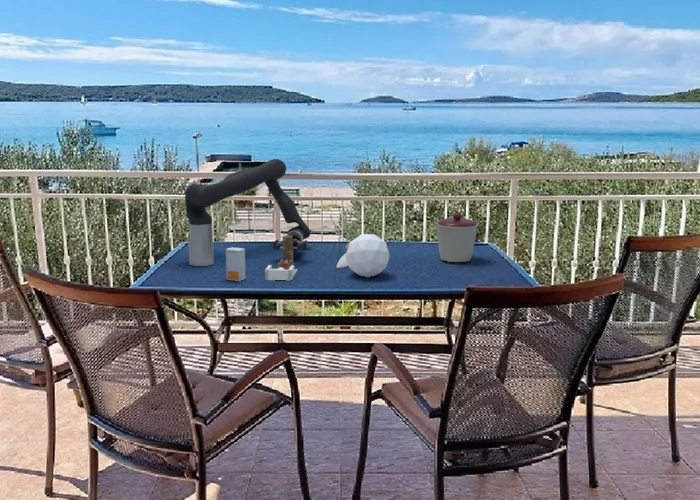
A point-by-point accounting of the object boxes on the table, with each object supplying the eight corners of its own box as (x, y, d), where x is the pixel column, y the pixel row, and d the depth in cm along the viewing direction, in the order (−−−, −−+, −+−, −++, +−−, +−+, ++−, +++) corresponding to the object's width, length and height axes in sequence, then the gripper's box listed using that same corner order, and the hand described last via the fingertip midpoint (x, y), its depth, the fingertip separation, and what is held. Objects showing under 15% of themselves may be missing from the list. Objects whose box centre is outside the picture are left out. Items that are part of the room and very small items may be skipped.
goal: (265, 280, 225) (264, 269, 224) (268, 275, 233) (268, 265, 232) (291, 280, 225) (291, 270, 224) (294, 275, 232) (294, 265, 232)
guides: (280, 267, 245) (279, 260, 244) (280, 266, 246) (280, 259, 245) (292, 268, 244) (292, 260, 244) (293, 267, 246) (293, 260, 245)
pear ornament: (376, 229, 221) (368, 218, 248) (327, 264, 222) (324, 249, 249) (401, 264, 224) (390, 249, 251) (352, 298, 225) (347, 280, 253)
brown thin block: (277, 272, 236) (277, 242, 234) (283, 263, 251) (283, 235, 249) (288, 272, 236) (288, 242, 234) (294, 263, 251) (293, 235, 248)
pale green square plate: (268, 274, 233) (268, 274, 233) (273, 269, 242) (273, 268, 242) (294, 275, 233) (294, 274, 233) (297, 269, 242) (297, 268, 242)
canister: (464, 267, 247) (467, 217, 243) (426, 261, 258) (428, 213, 253) (483, 260, 261) (486, 212, 257) (446, 254, 272) (448, 208, 268)
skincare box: (226, 280, 225) (225, 249, 222) (232, 277, 229) (231, 246, 226) (240, 281, 223) (239, 250, 220) (246, 279, 226) (245, 248, 224)
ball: (275, 269, 228) (276, 265, 231) (275, 278, 230) (277, 274, 233) (284, 269, 228) (285, 265, 231) (284, 278, 229) (286, 274, 233)
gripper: (277, 231, 263) (270, 238, 247) (309, 232, 262) (305, 239, 246) (277, 248, 264) (271, 256, 248) (309, 248, 264) (305, 256, 248)
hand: (288, 247), depth 247 cm, fingers open, 8 cm apart
